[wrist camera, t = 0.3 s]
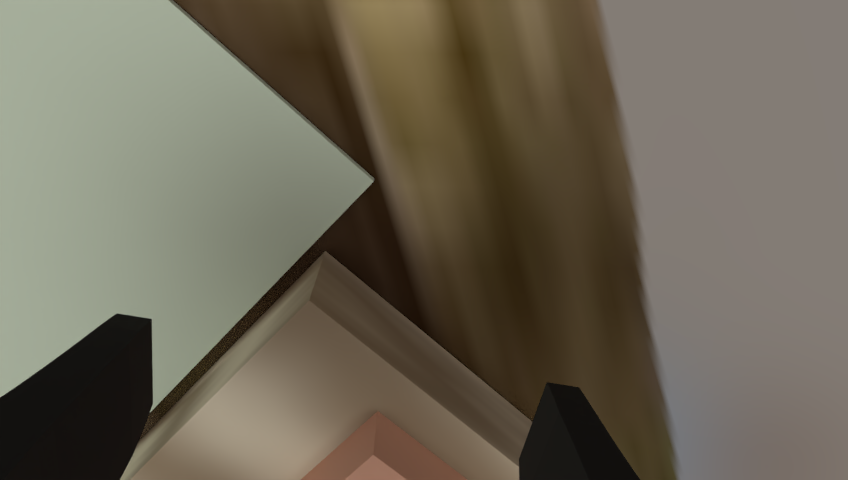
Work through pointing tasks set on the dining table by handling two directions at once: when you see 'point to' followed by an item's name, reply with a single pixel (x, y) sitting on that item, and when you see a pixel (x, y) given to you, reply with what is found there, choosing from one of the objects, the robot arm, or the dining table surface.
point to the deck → (329, 393)
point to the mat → (145, 182)
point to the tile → (381, 456)
